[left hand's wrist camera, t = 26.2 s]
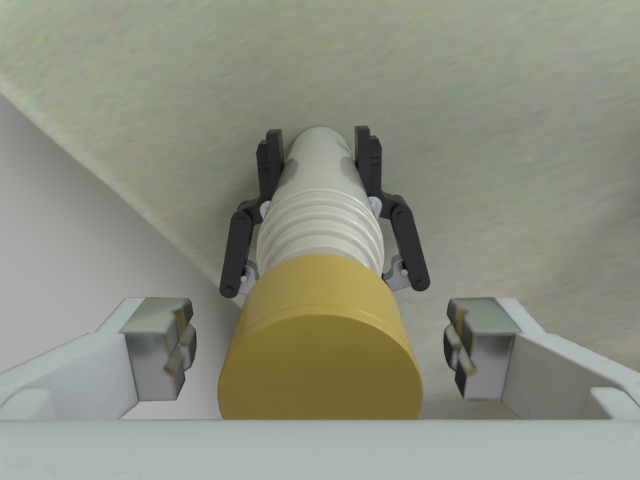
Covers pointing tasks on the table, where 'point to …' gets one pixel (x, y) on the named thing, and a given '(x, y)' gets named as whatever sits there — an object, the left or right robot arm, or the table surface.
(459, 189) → the table surface
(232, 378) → the cap
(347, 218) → the bottle
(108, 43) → the table surface
